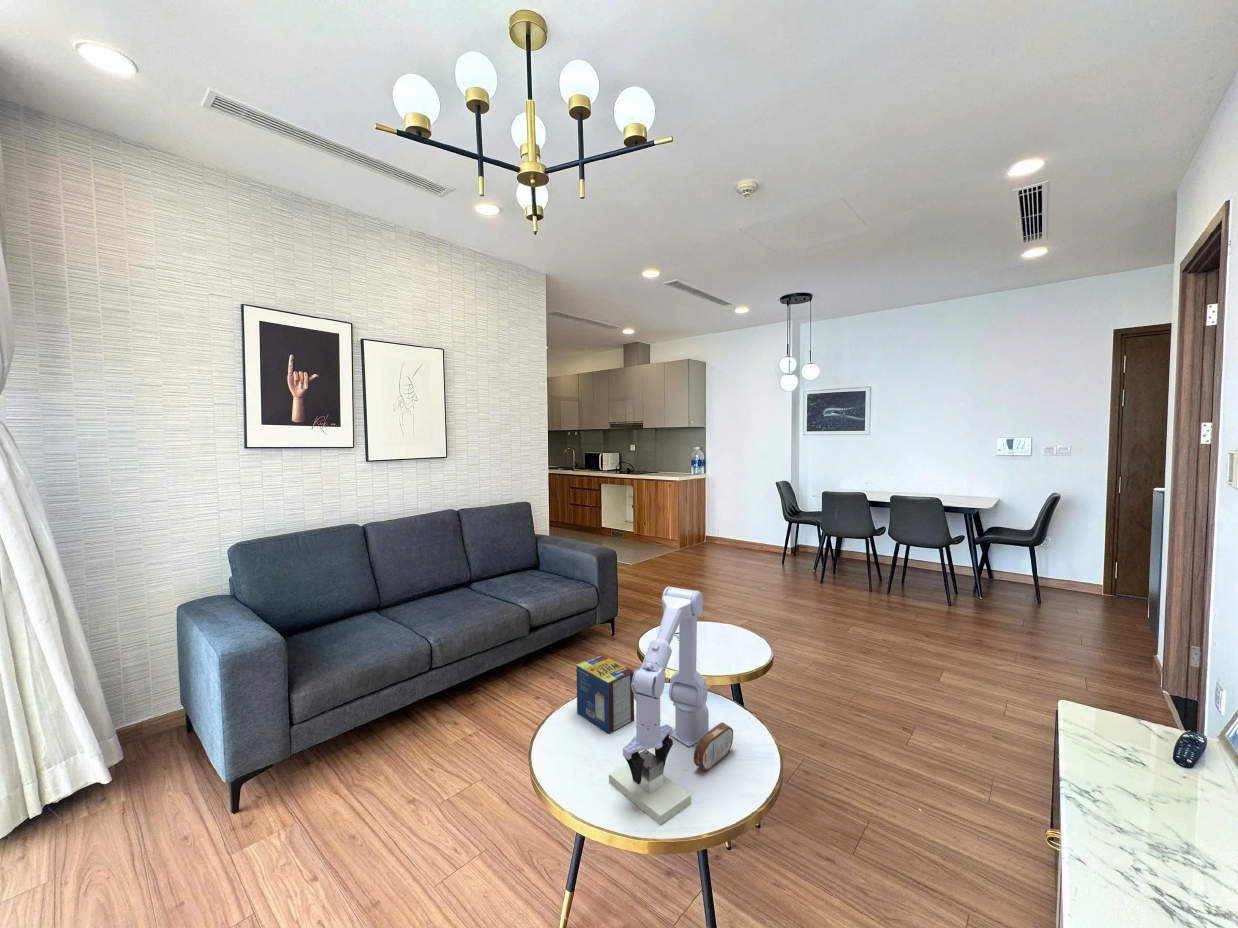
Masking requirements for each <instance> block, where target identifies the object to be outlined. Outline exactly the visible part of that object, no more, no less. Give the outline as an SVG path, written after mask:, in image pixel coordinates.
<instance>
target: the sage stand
mask: <svg viewBox="0 0 1238 928" xmlns="http://www.w3.org/2000/svg"><path fill="white" fill-rule="evenodd" d="M608 782H609V783H610V784H611V785H612V786H614V787H615V788H616V789H617V790H618V791H620V793H622V794H623V795H624V796H625V797H626V798H628V799H629V800H630V801H631V802H632V803H634V804H635V805H636V806H637V807H638V808H640V809H641V810H642V811H643V812H644V813H646V814H647V816H648V817H650V818H651V819H653V820H654V821H655V823H657V824H658V825H663V824H664V823H665V822H667V821H668V820H670V818H673V817H674V816H675V815H676V814H678V813H679V812H681V811H682V810H683V809H685V808H686V807H687V806H689V805H691V804H692V795H691V794H690V793H689V792H688V791H687V790H685V789H684V788H682V787H681V786H679V784H677V783H675V782H674V781H673V780H671V779H669V777H667V776H666V775H664V774H663V786H662V787H660V788H659V789H657V790H656V791H654V792H653V793H651V794H650V795H649V794H648V793H647V792H646V791H644V790H643V789H642V788H641V787H639V786H638V785H637V784H635V783H634V782H633V781H632V774H631V770H630V767H629V765H628V763H626V764H624V765H622V766H620V767H619V768H617V769H615V770H613V771H612V772H610V773H609V774H608Z"/></svg>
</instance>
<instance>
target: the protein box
mask: <svg viewBox="0 0 1238 928" xmlns="http://www.w3.org/2000/svg"><path fill="white" fill-rule="evenodd" d="M634 673H635V671H634V670H633V669H632V668H631V669H630V668H629V667H627V666H625V665H623V664H621V663H620V662H617V661H614V659H613V660H612V659H610V658H608V657H606V656H605V655H602V654H600V655H597V656H594V657H593V658H590V659H587V660H585V661H582V662H579V663H577V664H576V712H577V713H576V714H578V715H579V716H580V717H583V718H584V719H586V720H587V721H588V722H590V723H591V724H593V725H594V726H596V727H597V728H599V729H600V730H602V731H603V732H605V733H606V734H608V735H611V733H613V732H616V731H618V730H619V729H620V728H621V729H622V727H625V726H626V725H628V724H630V723H633V722H634V721H635V699H634V693H633V691H632V687H631V684H632V678H633V675H634Z"/></svg>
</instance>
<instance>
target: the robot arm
mask: <svg viewBox="0 0 1238 928" xmlns="http://www.w3.org/2000/svg"><path fill="white" fill-rule="evenodd" d="M661 604H662V605H661V606H662V611H663V615H662V618H661V621H660V625H659V630H658V633H657V636H656V639H653V640H652V641H650V642H649V646H648V647H647V650H646V653H645V656H644V658H643V661H642V664H641V667H640V668H637V669H635V671H634V675H633V678H632V684H631V687H632V691H633V693H634V701H635V706H636V707H635V709H636V714H635V715H636V716H635V718H636V720H635V721H636V725H635V726H636V730H635V731H636V733H635V734H636V735H635V736H634V737H633V738H632V739H631V740H630V742H629V743H627V744H626V745H625V746H624V747H622V756H623V757H624V759H625V760H626V762H627V763H628V765H629V767H630V770H631V774H632V778H633V781H635V782H636V783H637V784H640V783H641V779H642V767H643V764H644V761H645V760H644V759H643V758H641V757H640V754H639V753H640V752H642V751H644V750H650V749H654V755H655V756H656V757H658V758H659V759H661V760H662V761H663V770H664V769H665V765H666V761H667V758H668V755H669V753H670V751H671V749H672V747H673V745H674V739H676V740H677V741H679V742H680V743H682V744H683V745H685V746H687V747H689V748H690V747H692V746H693V745H695V744H697V743H698V741H699V740H700V738H701V737H702V736H703V735H704V734H706V733H707V732H708V731H710V730H709V729H710V728H709V721H710V720H709V718H710V716H709V708H708V705H707V700H708V689H707V682H706V680H707V679H706V678H705V677H704V676H703V675H702V674H701V673H700V672H698V671H697V649H698V648H697V642H698V641H697V637H698V630H697V629H698V628H697V627H698V618H699V617H702V616H703V609H704V608H703V607H704V605H703V604H704V597H703V594H702V593H701V591H700V590H693V589H686V588H679V587H673V586H671V585H669V586H667V587H665V588H664V590H663V592H662V596H661ZM678 627H679V629H678ZM677 629H678V630H679V632H678V634H679V635H678V637H679V638H678V670H676V671H675V672H673V674H672V675H671V676H670V683H669V688H668V697H669V700H670V701H671V702H673V703H672V705H673V706H674V707H675V711H674V712H675V714H674V715H675V718H674V719H675V722H674V723H675V728H674V729H673V727H672V726H671V725H669V724H664V725H661V697H662V695H663V692H664V690H665V689H664V688H665V683H666V682H665V680H666V677H667V676H666V675H667V674H666V670H667V667H668V664H669V661H670V659H671V655H672V648H671V646H670V644H671V643H672V641H673V639H674V636H675V634H676V631H677ZM671 737H672V738H671ZM673 738H674V739H673ZM627 763H626V764H627Z"/></svg>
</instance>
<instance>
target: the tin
mask: <svg viewBox="0 0 1238 928" xmlns="http://www.w3.org/2000/svg"><path fill="white" fill-rule="evenodd" d="M733 740H734V729H733V728H732V727H731V726H729V725H728V724H726V723H725V722H720V723H719V724H717V725H715V726H714V727H713V728H711V729H710V730H709V731H708V732H707V733H706V734H704V735H703V736H702V737H701V738H700V740H699V741H698V742H697V743H696V746H695V749H694V752H693V763H694V765H695V766H696V767H698V768H699V769H701V770H703V771H708V770H710V769H711V768H713V767H714V766H715V765H717V764H718V763H719V762H721V760H723V759H724V758H725V757H726V756H727V755H729V752H730V750H731V748H732V745H733Z"/></svg>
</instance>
